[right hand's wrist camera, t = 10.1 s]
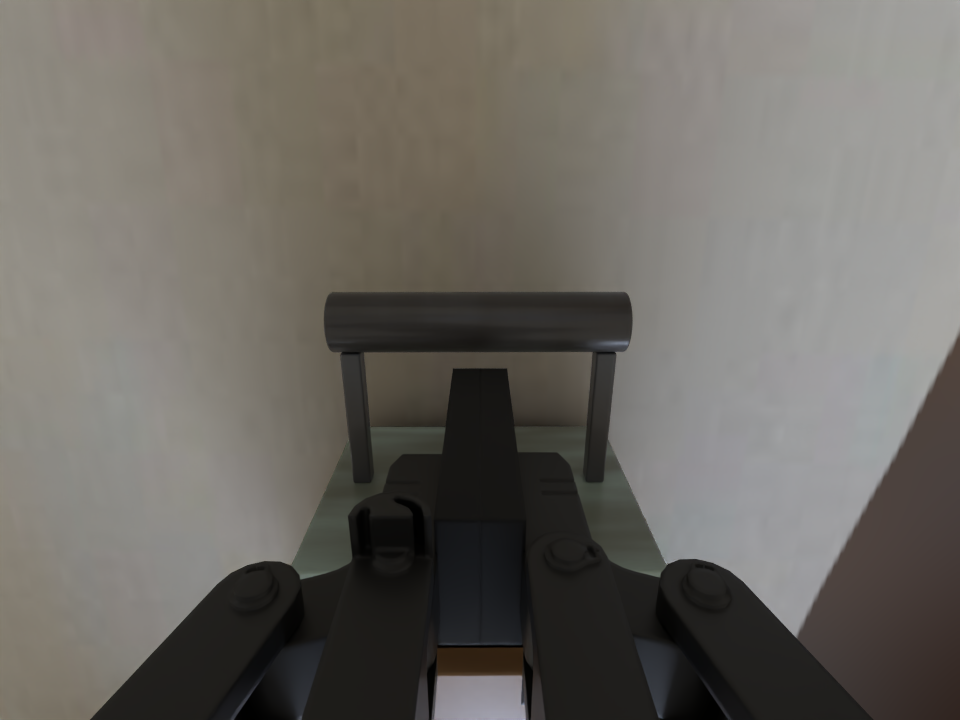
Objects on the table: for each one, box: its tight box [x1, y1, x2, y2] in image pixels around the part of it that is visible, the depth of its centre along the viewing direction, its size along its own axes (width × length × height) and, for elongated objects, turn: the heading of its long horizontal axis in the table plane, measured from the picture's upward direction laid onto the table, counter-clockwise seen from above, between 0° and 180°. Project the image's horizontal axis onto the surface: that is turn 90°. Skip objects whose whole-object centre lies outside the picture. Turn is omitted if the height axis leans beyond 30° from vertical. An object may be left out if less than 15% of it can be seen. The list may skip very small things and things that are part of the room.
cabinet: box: [434, 647, 526, 720], centre depth 21 cm, size 17×11×10 cm, turn 0°
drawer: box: [291, 292, 666, 648], centre depth 19 cm, size 22×10×8 cm, turn 0°
